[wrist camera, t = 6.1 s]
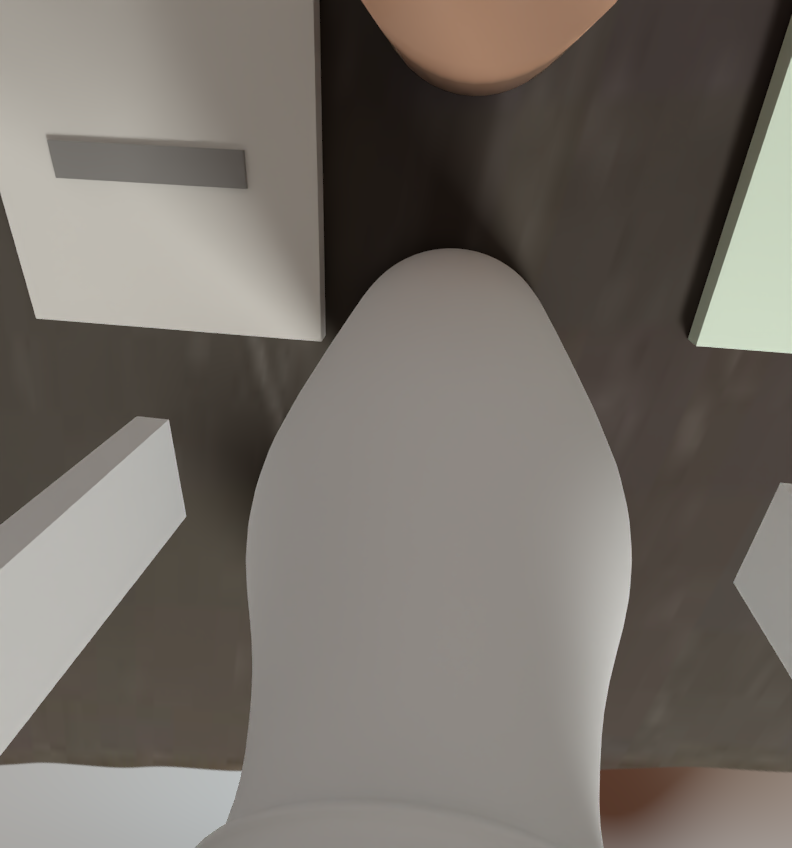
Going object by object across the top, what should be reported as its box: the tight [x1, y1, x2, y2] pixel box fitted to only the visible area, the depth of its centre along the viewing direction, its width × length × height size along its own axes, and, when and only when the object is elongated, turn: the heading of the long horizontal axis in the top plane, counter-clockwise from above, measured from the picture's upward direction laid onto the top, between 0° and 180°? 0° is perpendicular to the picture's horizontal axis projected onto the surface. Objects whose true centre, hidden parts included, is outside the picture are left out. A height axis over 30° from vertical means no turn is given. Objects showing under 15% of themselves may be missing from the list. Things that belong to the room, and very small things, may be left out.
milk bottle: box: [196, 248, 632, 848], centre depth 12 cm, size 8×8×20 cm
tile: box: [0, 0, 326, 341], centre depth 19 cm, size 12×12×1 cm
